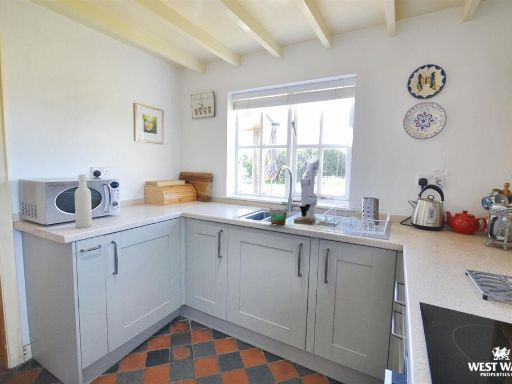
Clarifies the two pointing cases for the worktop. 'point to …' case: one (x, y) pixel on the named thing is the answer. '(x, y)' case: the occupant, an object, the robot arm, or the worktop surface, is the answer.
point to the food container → (278, 216)
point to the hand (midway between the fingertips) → (304, 215)
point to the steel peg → (305, 216)
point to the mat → (326, 223)
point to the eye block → (304, 220)
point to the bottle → (83, 204)
